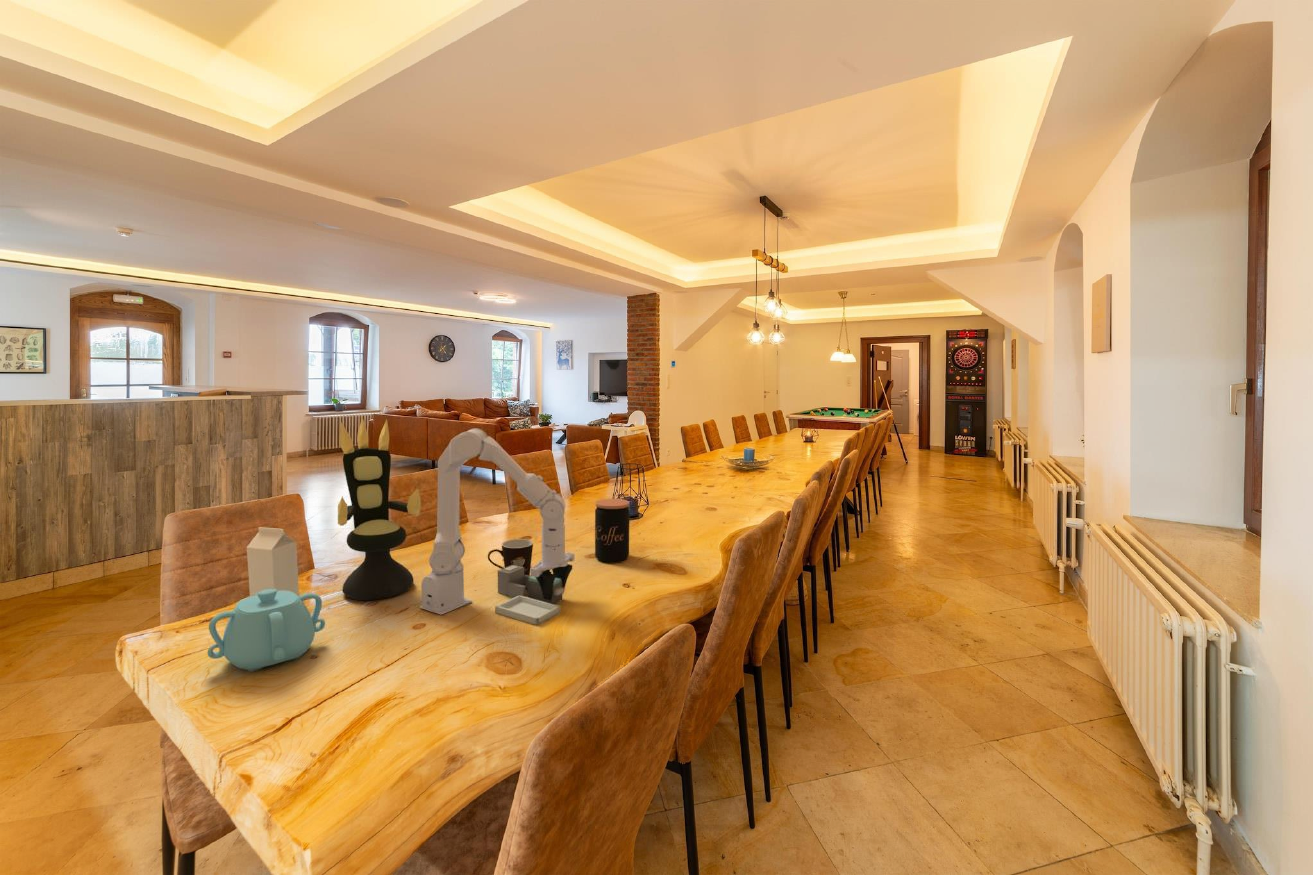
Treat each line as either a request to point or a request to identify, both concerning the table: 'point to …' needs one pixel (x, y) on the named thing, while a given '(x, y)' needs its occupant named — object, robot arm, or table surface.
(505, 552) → the coffee mug
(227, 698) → the table surface
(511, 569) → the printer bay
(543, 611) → the tray
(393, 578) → the black throne chair
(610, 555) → the coffee jar
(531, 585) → the mint green tabbed block
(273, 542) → the milk carton
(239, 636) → the decorative pot
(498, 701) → the table surface
